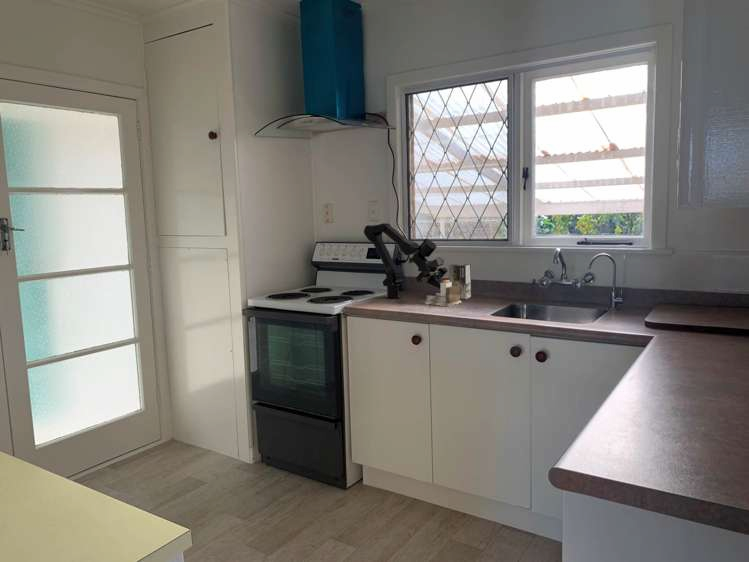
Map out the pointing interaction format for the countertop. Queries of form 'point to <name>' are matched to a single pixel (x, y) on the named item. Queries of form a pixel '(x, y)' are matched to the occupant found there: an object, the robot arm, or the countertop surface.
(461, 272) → the coffee box
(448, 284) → the white shaker
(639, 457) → the countertop surface
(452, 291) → the mount
